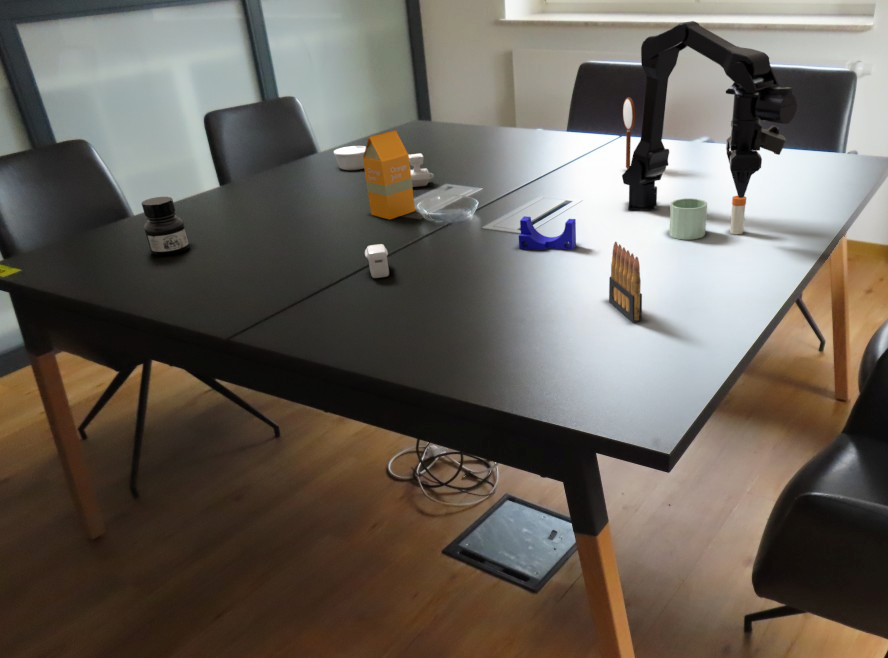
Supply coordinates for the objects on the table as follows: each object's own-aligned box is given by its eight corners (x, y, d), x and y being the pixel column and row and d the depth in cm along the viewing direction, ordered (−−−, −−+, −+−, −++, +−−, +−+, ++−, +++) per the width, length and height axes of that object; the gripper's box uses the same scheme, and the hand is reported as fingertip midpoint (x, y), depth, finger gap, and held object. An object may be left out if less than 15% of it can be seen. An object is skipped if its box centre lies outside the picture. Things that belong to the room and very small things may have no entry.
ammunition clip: (608, 301, 156) (609, 240, 150) (617, 299, 157) (618, 239, 150) (632, 322, 148) (634, 259, 141) (641, 320, 148) (643, 257, 142)
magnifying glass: (635, 174, 233) (637, 99, 223) (629, 174, 233) (631, 100, 222) (625, 166, 240) (627, 94, 230) (620, 167, 240) (621, 95, 230)
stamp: (404, 189, 232) (400, 159, 228) (402, 183, 238) (398, 154, 233) (435, 186, 233) (432, 156, 229) (433, 180, 239) (430, 151, 234)
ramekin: (379, 164, 259) (377, 147, 257) (355, 172, 252) (353, 155, 249) (353, 161, 265) (350, 144, 262) (329, 169, 257) (326, 152, 254)
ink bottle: (151, 259, 192) (136, 209, 185) (147, 249, 198) (132, 200, 192) (194, 251, 195) (181, 201, 189) (189, 241, 202) (175, 192, 196)
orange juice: (415, 210, 214) (406, 131, 203) (389, 219, 209) (378, 138, 198) (396, 206, 219) (386, 128, 208) (370, 214, 213) (358, 135, 203)
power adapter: (365, 262, 182) (361, 237, 179) (387, 260, 183) (384, 234, 180) (369, 280, 173) (365, 253, 170) (392, 277, 173) (388, 250, 170)
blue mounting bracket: (519, 248, 185) (517, 222, 181) (525, 242, 188) (524, 216, 185) (570, 252, 181) (569, 225, 178) (576, 245, 185) (575, 219, 181)
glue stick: (730, 234, 185) (732, 199, 181) (729, 230, 188) (732, 195, 183) (743, 234, 185) (746, 199, 180) (742, 230, 187) (745, 195, 183)
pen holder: (669, 239, 184) (670, 208, 181) (669, 228, 191) (670, 198, 187) (705, 239, 183) (707, 208, 179) (704, 228, 190) (706, 198, 186)
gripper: (791, 126, 164) (782, 204, 172) (780, 108, 180) (773, 179, 188) (734, 127, 166) (727, 204, 174) (728, 109, 182) (723, 180, 190)
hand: (739, 191), depth 181 cm, fingers open, 9 cm apart
